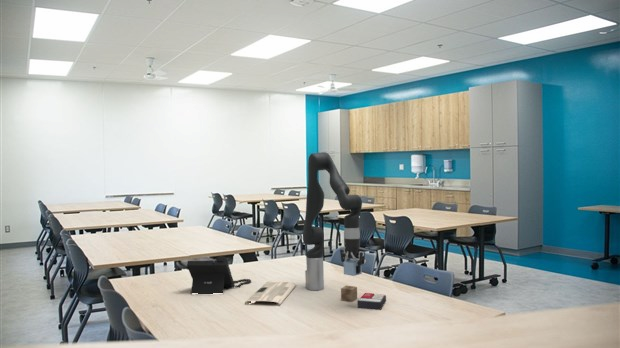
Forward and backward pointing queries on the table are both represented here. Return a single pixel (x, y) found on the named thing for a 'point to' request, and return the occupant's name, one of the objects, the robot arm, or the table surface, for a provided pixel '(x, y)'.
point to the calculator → (371, 301)
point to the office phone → (212, 276)
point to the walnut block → (349, 293)
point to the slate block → (350, 268)
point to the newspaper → (273, 292)
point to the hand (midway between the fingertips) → (352, 272)
